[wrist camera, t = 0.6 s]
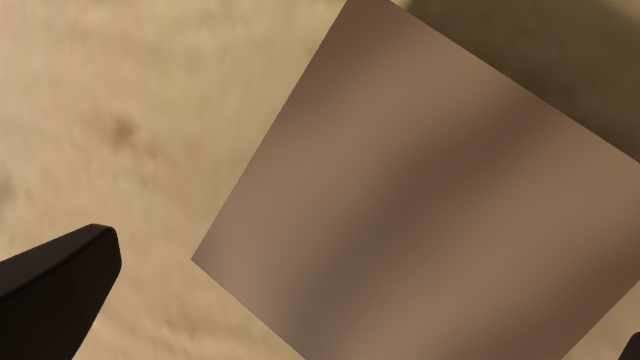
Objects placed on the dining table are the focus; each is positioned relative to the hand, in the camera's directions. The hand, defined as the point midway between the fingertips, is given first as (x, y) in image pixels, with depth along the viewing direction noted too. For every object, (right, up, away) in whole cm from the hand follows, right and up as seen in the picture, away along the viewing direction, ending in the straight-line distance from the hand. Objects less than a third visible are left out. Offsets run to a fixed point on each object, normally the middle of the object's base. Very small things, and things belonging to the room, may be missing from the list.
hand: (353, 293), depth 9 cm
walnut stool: (+4, 0, +14) cm, 14 cm away
